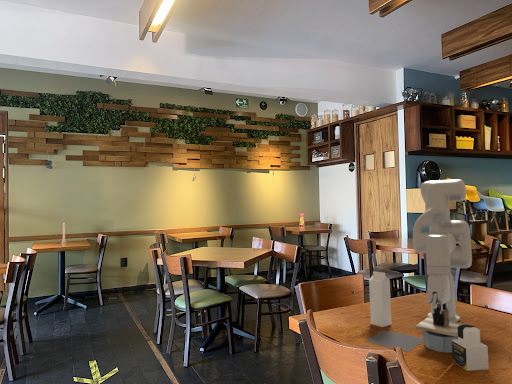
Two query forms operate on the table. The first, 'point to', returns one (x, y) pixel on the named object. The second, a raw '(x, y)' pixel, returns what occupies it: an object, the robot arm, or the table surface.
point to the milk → (380, 299)
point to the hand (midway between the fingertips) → (441, 322)
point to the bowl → (438, 341)
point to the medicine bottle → (469, 349)
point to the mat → (395, 340)
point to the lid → (446, 329)
